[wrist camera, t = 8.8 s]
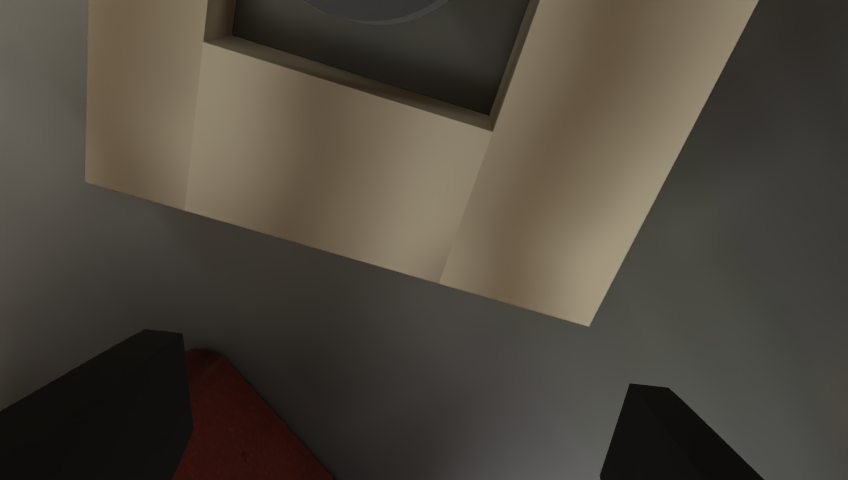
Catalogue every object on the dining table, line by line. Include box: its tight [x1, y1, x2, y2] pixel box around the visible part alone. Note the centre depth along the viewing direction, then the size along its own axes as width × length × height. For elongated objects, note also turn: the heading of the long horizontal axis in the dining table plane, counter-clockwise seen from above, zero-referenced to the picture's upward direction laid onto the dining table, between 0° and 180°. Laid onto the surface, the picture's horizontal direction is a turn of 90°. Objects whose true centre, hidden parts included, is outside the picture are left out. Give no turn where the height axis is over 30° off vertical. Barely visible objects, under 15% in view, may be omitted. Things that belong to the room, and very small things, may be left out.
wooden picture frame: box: [85, 0, 759, 327], centre depth 15 cm, size 16×14×2 cm
